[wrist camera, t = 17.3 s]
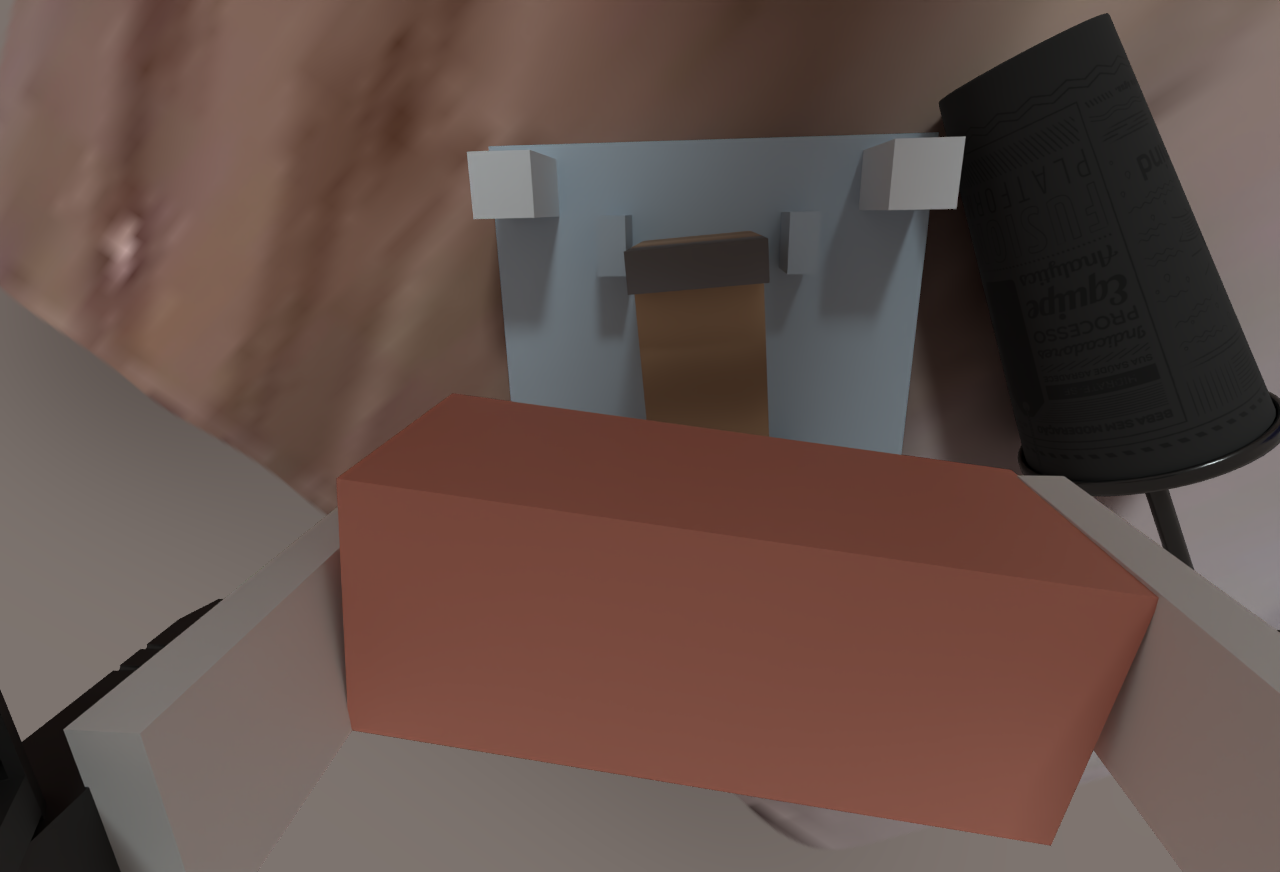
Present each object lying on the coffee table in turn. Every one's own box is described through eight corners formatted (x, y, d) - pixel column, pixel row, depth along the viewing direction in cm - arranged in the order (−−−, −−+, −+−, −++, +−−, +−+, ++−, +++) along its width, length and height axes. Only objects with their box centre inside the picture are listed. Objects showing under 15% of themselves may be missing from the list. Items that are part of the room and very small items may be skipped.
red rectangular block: (449, 582, 13) (349, 729, 10) (452, 393, 12) (336, 479, 8) (948, 657, 13) (1050, 845, 9) (1010, 469, 11) (1160, 598, 8)
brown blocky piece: (759, 479, 27) (786, 595, 19) (665, 484, 28) (650, 600, 20) (750, 230, 24) (776, 241, 16) (643, 240, 25) (614, 256, 16)
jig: (496, 148, 25) (449, 134, 20) (929, 135, 24) (986, 116, 19) (528, 525, 30) (496, 583, 26) (884, 532, 29) (920, 596, 24)
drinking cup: (931, 114, 26) (1084, 545, 30) (861, 135, 21) (1056, 656, 24) (1174, -15, 21) (1324, 532, 24) (1162, -30, 15) (1355, 670, 19)
